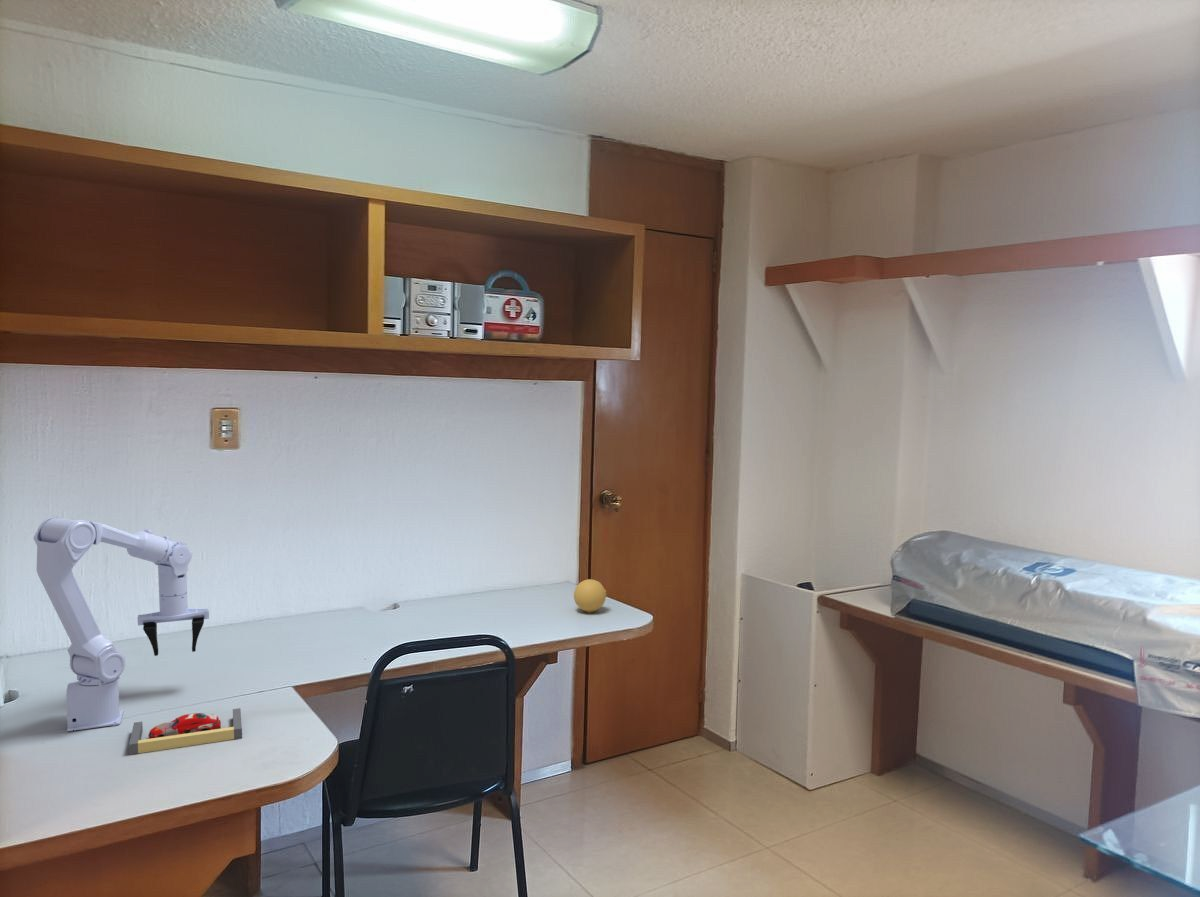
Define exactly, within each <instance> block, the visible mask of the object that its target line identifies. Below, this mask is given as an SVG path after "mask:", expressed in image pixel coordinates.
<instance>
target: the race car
mask: <svg viewBox="0 0 1200 897" xmlns="http://www.w3.org/2000/svg"><path fill="white" fill-rule="evenodd" d="M221 728H222V722H221V720H220V718H219V715H218V714H213V713H212V714H211V713H206V712H205V713H203V712H195V713H194V712H193V713H187V714H183V715H182V714H181V715H180V716H178V717H176V718H175V719H173V720H171V721H168V722H163V723H160V724H158V725H156V726H154V727H152V728H151V729H150V730H149V732H148V739H151V738H158V737H165V736H172V735H179V734H186V733H193V732H200V731H207V730H214V729H221Z"/></svg>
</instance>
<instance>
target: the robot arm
mask: <svg viewBox="0 0 1200 897" xmlns="http://www.w3.org/2000/svg"><path fill="white" fill-rule="evenodd" d="M33 540H34V542H35V544H36V547H37V549H36V551H37V552H36V573H37V576H38V577H39V579H40V582H41V584H42V586H43V588H44V590H45V592H46V594H47V595H48V598H49V600H50V602H51V604H52V606H53V608H54V611H55V613H56V614H57V617H58V619H59V620H60V622H61V625H62V626H63V628H64V630H65V632H66V634H67V636H68V638H69V640H70V642H71V644H70V645H69V647H68V648H67V653H68V655H69V667H70V670H71V671H72V673H74V674H76V680H77V681H73V682H69V683H67V687H66V695H65V696H66V697H65V698H66V699H65V703H66V719H67V721H66V722H67V724H66V726H67V731H66V732H72V731H73V730H74V731H80V730H89V729H95V728H103V727H110V726H117V725H120V724H121V723H122V722H121V721H122V718H123V715H124V714H123V713H124V709H123V708H120V694H119V690H120V689H119V679H121V678H120V676H121V675H122V673H123V672H124V671H125V668H126V658H125V655H124V654H123V653H122V652H121V651H119V650H117V649H116V647H115V645H114V643H113V642H112V641H111V640H109V639H108V638H107V637H106V636H105V635H103V634H102V633H101V630H100V628H99V626H98V624H97V621H96V619H95V617H94V615H93V613H92V611H91V609H90V606H89V605H88V603H87V601H86V598H85V596H84V595H83V592H82V590H81V588H80V586H79V582H77V579H76V577H75V575H74V573H73V570H72V569H73V568H74V567H75V566H76V565H77V563H78V562H79V561H80V560H81V559H82V558H83V556H84V555H85V554H86V553H87V552H88V551H89V550H90V549H91V547H92V546H93V545H94V546H97V545H99V544H100V543H104V544H109V545H112V546H117V547H121V548H124V549H126V551H127V554H128V555H129V556H130V557H133V558H136V559H141V560H144V561H148V562H151V563H153V564H154V565H155V566H157V572H158V574H157V576H158V598H159V599H158V600H159V601H158V603H159V606H158V607H159V611H156V612H150V613H145V614H138V615H137V626H143V627H142V629H143V631H144V633H145V635H146V636H147V639H148V640H149V642H150V644H151V647H152V651H153V655H154V657H158V655H159V644H158V643H159V642H158V625H157V624H159V623H170V622H181V621H190V620H191V633H192V635H191V636H192V638H191V639H192V642H191V643H192V644H191V651H192V653H194V652H196V651H197V649H196V648H197V644H198V642H197V641H198V639H199V635H200V633H201V630H202V628H203V626H204V623H205V620H209V619H210V608H188V604H189V603H188V582H187V580H188V578H187V574H188V571H189V563H190V562H191V561H192V556H193V552H191V550H190V548H189V546H188V545H187V543H184V542H182V541H181V542H180V541H174V540H171V537H170V536H166V535H163V537H162V536H159V535H156V534H154V531H153V530H150V529H144V530H139V531H135V532H134V533H130V532H127V531H125V530H121V529H118V528H116V527H113V526H111V525H107V524H104V523H101V522H96V521H88V520H84V519H80V520H79V519H70V518H62V517H58V516H51V517H48V518H46V519H44V520H43V521H42V522H41V523H40V525H39V526H38V528H37V529H36V532H35V533H34V536H33ZM74 731H73V732H74Z"/></svg>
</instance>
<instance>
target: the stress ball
mask: <svg viewBox="0 0 1200 897" xmlns="http://www.w3.org/2000/svg"><path fill="white" fill-rule="evenodd" d="M606 598H607V590H606V589H605V587H604V586H603V585H602V582H601V581H598V580H595V579H593V578H592V579H590V578H588V579H585V580H582V581H581V582H579V583H578V585H576V586H575V589H574V592H573V600H574V603H575V604H576V606H577V607H578V608H579V609H581V611H583V612H585V613H590V614H591V613H592V614H593V613H594V612H595V611H598V610H600V609H601V608H602V607H603V606H604V603H605V602H606Z"/></svg>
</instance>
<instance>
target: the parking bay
mask: <svg viewBox="0 0 1200 897" xmlns="http://www.w3.org/2000/svg"><path fill="white" fill-rule="evenodd" d="M241 710H242V709H241V707H237V708H233V709H232V725H233V726H230V727H223V728H222V727H221V729H214V730H207V731H200V732H193V733H186V734H179V735H172V736H165V737H158V738H151V739H149V738H146V739H145V738H144V739H142V736H143V731H144V730H143V729H144V728H143V727H144V726H143V721H137V722H135V721H134V722H133V725H132V729H131V733H130V739H129V744H128V752H129V755H137V754H143V753H149V752H157V751H164V750H170V749H177V748H184V747H192V746H197V745H198V746H199V745H205V744H210V743H218V742H223V741H233V740H239V739H243V723H242V714H241V712H242V711H241Z"/></svg>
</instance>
